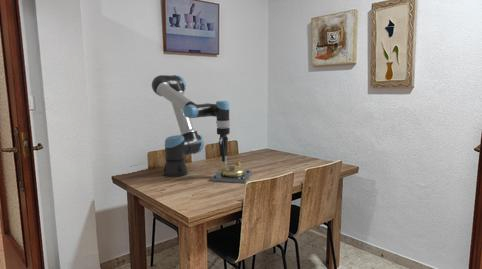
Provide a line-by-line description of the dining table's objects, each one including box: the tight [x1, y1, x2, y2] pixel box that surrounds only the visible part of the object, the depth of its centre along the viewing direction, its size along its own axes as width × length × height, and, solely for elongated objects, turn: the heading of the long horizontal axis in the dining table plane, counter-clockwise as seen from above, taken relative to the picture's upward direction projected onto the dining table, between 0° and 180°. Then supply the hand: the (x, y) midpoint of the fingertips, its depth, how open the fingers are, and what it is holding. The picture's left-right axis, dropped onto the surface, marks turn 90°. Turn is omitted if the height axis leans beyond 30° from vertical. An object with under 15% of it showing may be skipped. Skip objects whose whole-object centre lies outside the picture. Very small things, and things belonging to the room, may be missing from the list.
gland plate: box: [210, 169, 253, 184], centre depth 203 cm, size 20×20×3 cm
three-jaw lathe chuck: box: [220, 160, 245, 177], centre depth 202 cm, size 14×14×6 cm
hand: (223, 166), depth 205 cm, fingers closed
